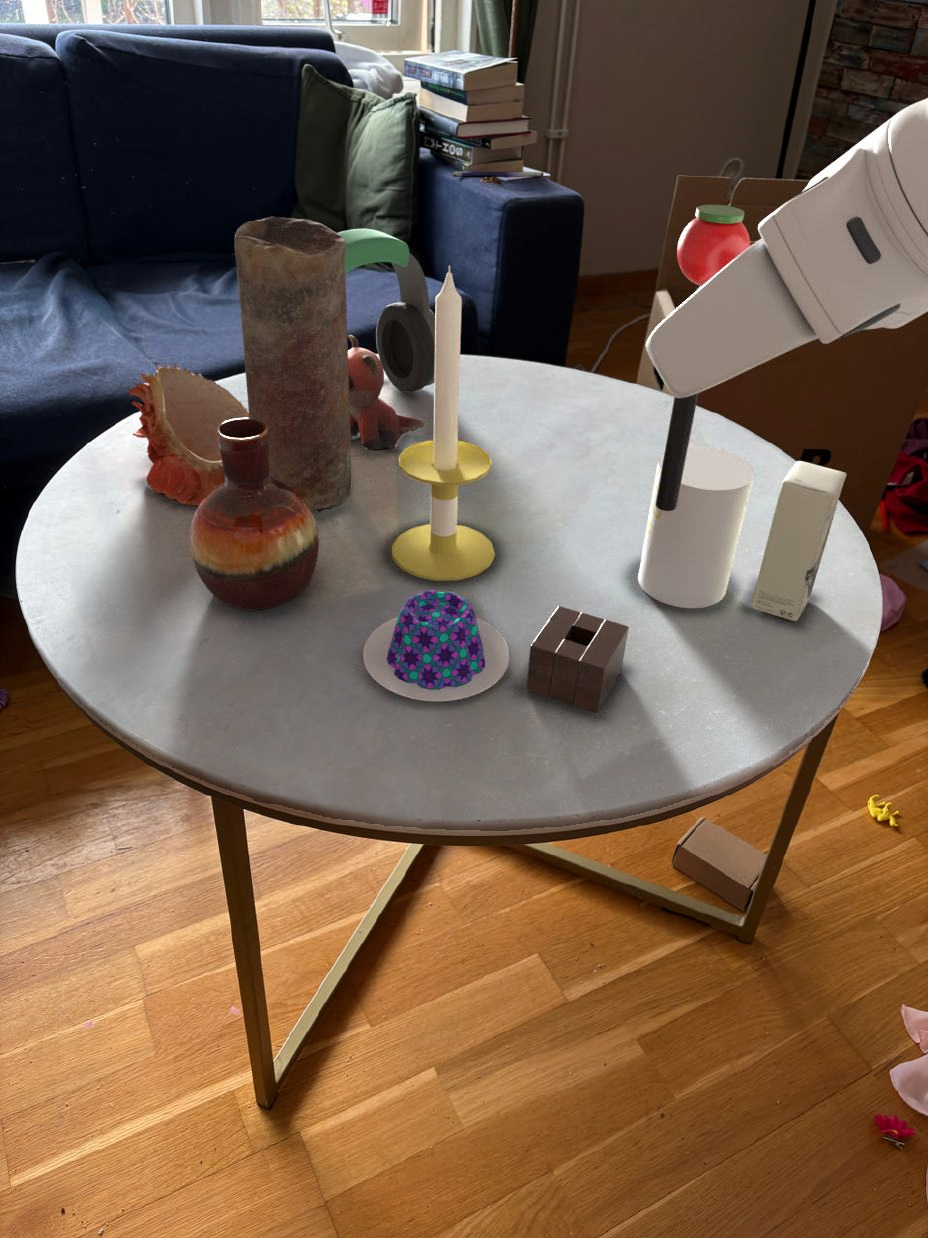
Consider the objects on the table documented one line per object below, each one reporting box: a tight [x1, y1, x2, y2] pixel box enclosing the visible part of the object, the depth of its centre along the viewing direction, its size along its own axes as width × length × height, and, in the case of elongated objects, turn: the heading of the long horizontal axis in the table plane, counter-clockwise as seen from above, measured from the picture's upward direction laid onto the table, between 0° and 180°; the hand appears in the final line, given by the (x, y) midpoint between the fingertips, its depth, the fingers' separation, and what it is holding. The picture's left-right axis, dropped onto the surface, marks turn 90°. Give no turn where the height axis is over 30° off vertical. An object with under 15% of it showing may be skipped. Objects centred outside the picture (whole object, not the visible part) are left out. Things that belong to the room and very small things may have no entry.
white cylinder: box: [637, 445, 755, 609], centre depth 84 cm, size 8×8×12 cm
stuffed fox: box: [347, 334, 428, 453], centre depth 106 cm, size 8×11×12 cm
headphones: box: [337, 228, 436, 393], centre depth 114 cm, size 19×11×20 cm, turn 126°
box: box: [750, 460, 847, 622], centre depth 82 cm, size 5×4×13 cm
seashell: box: [127, 362, 249, 506], centre depth 100 cm, size 17×11×15 cm
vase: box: [189, 418, 320, 611], centre depth 81 cm, size 11×11×15 cm
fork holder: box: [526, 605, 630, 714], centre depth 75 cm, size 6×6×4 cm
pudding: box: [362, 589, 511, 702], centre depth 76 cm, size 12×12×5 cm
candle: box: [391, 265, 496, 582], centre depth 83 cm, size 10×10×27 cm
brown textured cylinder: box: [234, 216, 353, 513], centre depth 90 cm, size 10×10×27 cm
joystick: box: [656, 204, 751, 511], centre depth 57 cm, size 4×4×19 cm
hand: (682, 368), depth 58 cm, fingers closed on joystick
